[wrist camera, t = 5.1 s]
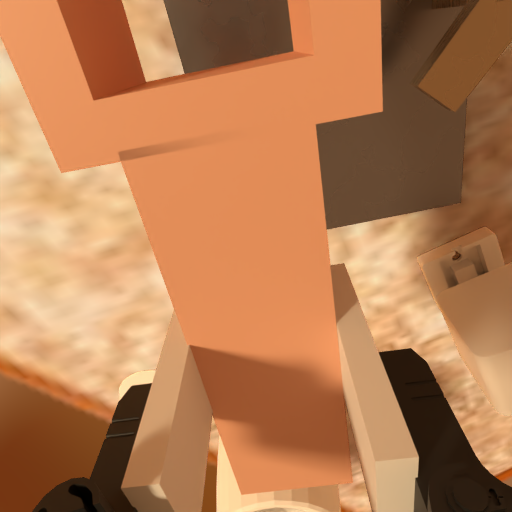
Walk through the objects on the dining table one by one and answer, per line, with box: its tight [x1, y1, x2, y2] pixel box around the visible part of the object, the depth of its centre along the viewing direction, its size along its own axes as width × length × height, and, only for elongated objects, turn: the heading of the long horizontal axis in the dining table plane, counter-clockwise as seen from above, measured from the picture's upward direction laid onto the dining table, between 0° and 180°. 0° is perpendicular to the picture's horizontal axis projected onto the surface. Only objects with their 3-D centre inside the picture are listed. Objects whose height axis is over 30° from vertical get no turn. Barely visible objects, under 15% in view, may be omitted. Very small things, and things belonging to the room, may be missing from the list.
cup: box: [217, 437, 341, 512], centre depth 29 cm, size 8×8×14 cm
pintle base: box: [164, 0, 512, 229], centre depth 20 cm, size 19×17×8 cm
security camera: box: [417, 227, 512, 416], centre depth 26 cm, size 6×7×10 cm
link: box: [0, 0, 383, 495], centre depth 11 cm, size 19×7×4 cm, turn 10°
